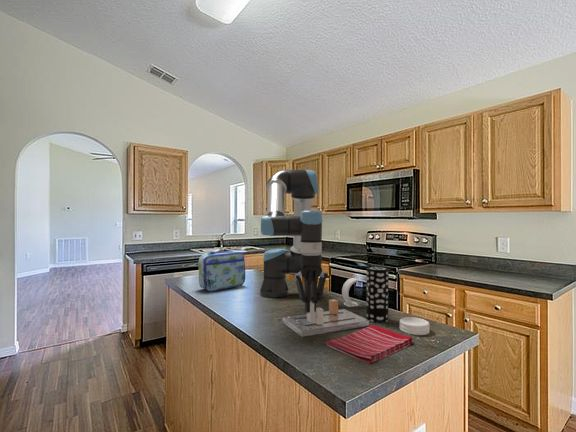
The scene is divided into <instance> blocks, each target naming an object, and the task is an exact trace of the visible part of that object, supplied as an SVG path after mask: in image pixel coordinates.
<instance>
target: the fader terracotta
mask: <svg viewBox="0 0 576 432" xmlns="http://www.w3.org/2000/svg"><path fill="white" fill-rule="evenodd" d="M338 310H339V300H337V299H335V298H334V299H333V298H332V299H328V311H329V313H331V314H338Z"/></svg>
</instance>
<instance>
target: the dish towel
mask: <svg viewBox="0 0 576 432" xmlns="http://www.w3.org/2000/svg"><path fill="white" fill-rule="evenodd" d="M325 344H326V346H327V347H328V348H331V349H334V350H336V351H338V352H340V353H343V354H345V355H347V356H349V357H352V358H354V359H356V360H359V361H361V362H364V363H366V364H368V365H370V364H372V363H375V362H378V361H380V360H382V359H385V358H387V357H389V356H391V355H394V354H395V353H397V352H399V351H401V350H404V349H406V348H407V347H410V346H411V345H413V344H414V342H413V337H412V336H411V335H409V336H408V335H405V334H404V335H403V334H401V333H398V332H396V331H392V330H389V329H387V328H383V327H380V326H378V325H374V324H373V325H372V324H371V325H369V326H365V328H364V327H363V328H362V329H359V330H356V331H354V332H352V333H349V334H346V335H343V336H341V337H338V338H334V339H330V340H328V341H326V342H325Z"/></svg>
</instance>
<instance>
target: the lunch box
mask: <svg viewBox="0 0 576 432" xmlns="http://www.w3.org/2000/svg"><path fill="white" fill-rule="evenodd" d="M245 262H246V261H245V255H244V253H243V252H237V251H234V250H233V251H209V252H208V253H203V254H202V255H201V256H200V257H199V259H198V263H197V264H198V265H197V266H198V285H199V288H201V289H203V290H206V291H207V292H210V293H212V292H215V291H221V290H222V291H223V290H226V289H232V288H233V289H234V288H237V287H241V286H244V283H245V282H246V263H245Z"/></svg>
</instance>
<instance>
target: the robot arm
mask: <svg viewBox="0 0 576 432" xmlns="http://www.w3.org/2000/svg"><path fill="white" fill-rule="evenodd" d="M265 185H266V187H265V190H266V193H267V202H266V203H267V204H266V215H265V216H263V215H262V216H261V218H260V234H261V235H262V236H270V237H275V236H277V237H281V236H282V237H283V236H284V237H285V236H286V237H287V236H291V237H293V239H292V240H293V241H292V242H293V245H292V246H291V247H290V248H289V249H290V250H289V251H287V249H286V248H276V249H269V250H266V251H265V252H264V253H263V259H262V260H263V279H262V283H261V286H260V288H259V294H260V296H261V297H264V298H265V297H266V298H282V297H287V296H289V295H290V288H289V286H288V281H287V277H286V275H293V279H294V280H295V283H296V288H297V292H298V297H299V301H301V302H302V303H304V311H305V313H306V314H307V321H309V322H310V323H311V322H314V312H316V308H317V304H318V303H319V301H322V298H323V294H324V289H325V285H326V284H325V283H326V280H327V278H328V277H329V274H328V273H326V272H325V271H323V268H322V264H323V263H322V262H323V261H322V259H323V257H322V255H321V254H322V250H323V249H322V248H323V245H322V244H323V242H322V241H323V240H322V236H323V235H322V234H323V213H322V211H320V210H312V202H313V200H314V199H315V197H316V195H317V194H319V183H318V177H317V173H316V172H315V170H311V169H282V170H279V171H276V172H275V173H274V174H272V176H271V177H270V178H269V179H268V180H267V182H266V184H265ZM285 194H290V197H291V199H292V200H293V202H294V204H293V216H292V215H286V199H285V198H286V197H285ZM302 278H303V279H302ZM303 283H304V284H303Z"/></svg>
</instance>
